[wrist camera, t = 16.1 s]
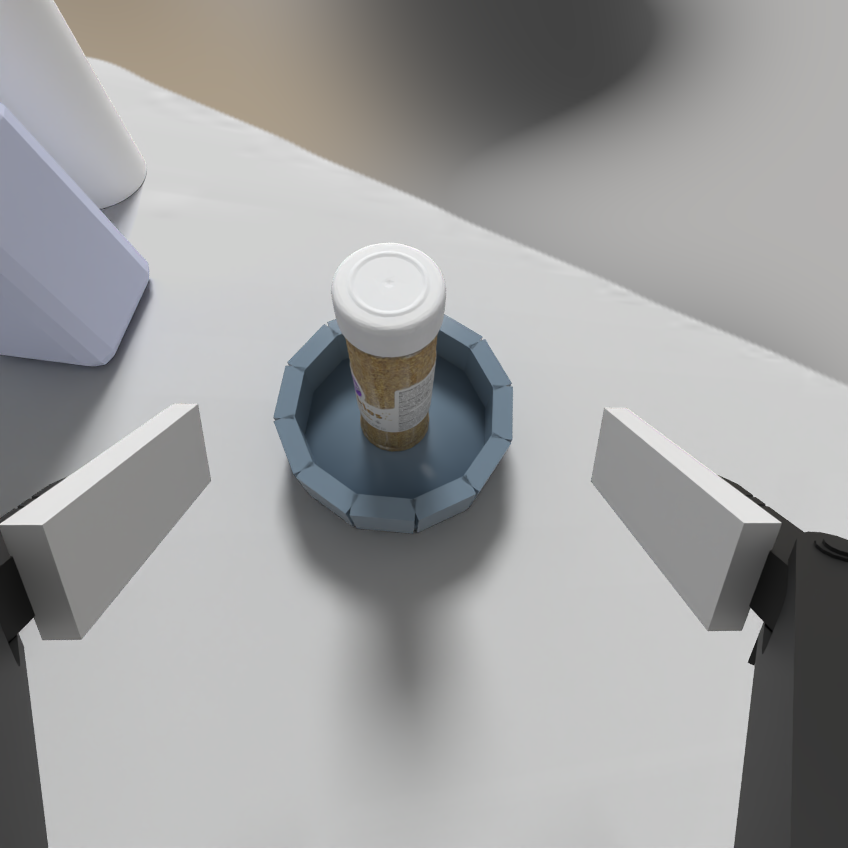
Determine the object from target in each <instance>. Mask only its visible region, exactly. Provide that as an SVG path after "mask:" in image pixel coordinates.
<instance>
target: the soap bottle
mask: <svg viewBox="0 0 848 848" xmlns="http://www.w3.org/2000/svg"><path fill="white" fill-rule="evenodd" d="M148 281H149V266H148V262H147V261H146V260H145V259H144V258H143V256H142V255H141V254H140V253H139V252H138V251H137V250H136V249H135V248H134V247H133V245H132V244H131V243H130V242H129V241H128V240H127V239H126V238H125V237H124V236H123V234H122V233H121V232H120V231H119V230H118V229H117V228H116V227H115V226H114V225H113V224H112V222H111V221H110V220H109V219H108V218H107V217H106V216H105V215H104V214H103V213H102V211H101V210H100V209H99V208H98V207H97V206H96V205H95V204H94V203H93V202H92V200H91V199H90V198H89V197H88V196H87V195H86V194H85V193H84V192H83V191H82V189H81V188H80V187H79V186H78V185H77V184H76V183H75V182H74V181H73V180H72V179H71V177H70V176H69V175H68V174H67V173H66V172H65V171H64V170H63V169H62V168H61V166H60V165H59V164H58V163H57V162H56V161H55V160H54V159H53V158H52V157H51V155H50V154H49V153H48V152H47V151H46V150H45V149H44V148H43V147H42V146H41V144H40V143H39V142H38V141H37V140H36V139H35V138H34V137H33V136H32V135H31V133H30V132H29V131H28V130H27V129H26V128H25V127H24V126H23V125H22V124H21V123H20V121H19V120H18V119H17V118H16V117H15V116H14V115H13V114H12V113H11V112H10V110H9V109H8V108H7V107H6V106H5V105H4V104H3V103H1V102H0V355H7V356H15V357H22V358H30V359H38V360H45V361H53V362H61V363H68V364H76V365H84V366H99V365H105V364H107V363H108V362H109V361H110V360H111V359H112V357H113V356H114V355H115V353H116V351H117V349H118V346H119V344H120V342H121V340H122V338H123V336H124V333H125V331H126V329H127V327H128V325H129V323H130V320H131V318H132V316H133V314H134V312H135V310H136V307H137V305H138V303H139V301H140V299H141V297H142V294H143V292H144V290H145V288H146V286H147V283H148Z"/></svg>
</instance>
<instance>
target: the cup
mask: <svg viewBox="0 0 848 848" xmlns="http://www.w3.org/2000/svg"><path fill="white" fill-rule="evenodd" d="M0 102H1V103H3V104H4V105H5V106H6V107H7V108H8V109H9V110H10V112H11V113H12V114H13V115H14V116H15V117H16V118H17V119H18V120H19V121H20V123H21V124H22V125H23V126H24V127H25V128H26V129H27V130H28V131H29V132H30V133H31V135H32V136H33V137H34V138H35V139H36V140H37V141H38V142H39V143H40V144H41V146H42V147H43V148H44V149H45V150H46V151H47V152H48V153H49V154H50V155H51V157H52V158H53V159H54V160H55V161H56V162H57V163H58V164H59V165H60V166H61V168H62V169H63V170H64V171H65V172H66V173H67V174H68V175H69V176H70V177H71V179H72V180H73V181H74V182H75V183H76V184H77V185H78V186H79V187H80V188H81V189H82V191H83V192H84V193H85V194H86V195H87V196H88V197H89V198H90V199H91V200H92V202H93V203H94V204H95V205H96V206H97V207H98V208H99V209H101V208H105V207H109V206H112V205H114V204H117V203H119V202H121V201H123V200H125V199H126V198H128V197H129V196H131V195H132V194H133V193H134V192H135V191H136V190H137V189H138V188H139V187H140V186H141V184H142V183H143V181H144V179H145V177H146V172H147V166H146V162H145V160H144V158H143V156H142V154H141V152H140V151H139V149H138V147H137V145H136V144H135V142H134V140H133V138H132V137H131V135H130V133H129V131H128V130H127V128H126V126H125V124H124V123H123V121H122V119H121V117H120V116H119V114H118V112H117V110H116V109H115V107H114V105H113V103H112V102H111V100H110V98H109V96H108V95H107V93H106V91H105V89H104V88H103V86H102V84H101V82H100V81H99V79H98V77H97V75H96V74H95V72H94V70H93V68H92V67H91V65H90V63H89V61H88V60H87V58H86V56H85V54H84V53H83V51H82V49H81V48H80V46H79V44H78V42H77V40H76V39H75V37H74V35H73V33H72V32H71V30H70V28H69V26H68V25H67V23H66V21H65V19H64V18H63V16H62V14H61V12H60V11H59V9H58V7H57V6H56V4H55V2H54V0H0Z"/></svg>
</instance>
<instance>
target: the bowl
mask: <svg viewBox="0 0 848 848" xmlns="http://www.w3.org/2000/svg"><path fill="white" fill-rule="evenodd" d="M327 323H328V326H326V325H325V324H324V325H323V326H322V327H321V328H320V329H319V330H318V331H317V332H316V333H315V334H314V335H313V336H312V337H311V338H310V339H309V340H308V342H307V343H306V344H305V345H304V346H303V347H302V348H301V349H300V350H299V351H298V352H297V353H296V354H295V355H294V356H293V357H292V358H291V359H290V360H289V361H288V365H289V366H285V371H284V375H283V379H282V383H281V388H280V392H279V396H278V400H277V404H276V409H275V413H274V417H273V418H274V419H275V421H274V423H275V426H276V429H277V432H278V434H279V437H280V440H281V442H282V445H283V448H284V450H285V453H286V456H287V458H288V461H289V464H290V466H291V469H292V472H293V474H294V475H295V477H296V478H297V479H298V481H299V482H300V483H301V484H302V486H303V487H304V488H305V490H306V491H307V492H308V493H309V495H310V496H312V497H313V498H315V499H316V500H317V501H319V502H320V503H321V504H323V505H324V506H325V507H327V508H328V509H329V510H331V511H332V512H334V513H335V514H336V515H338V516H339V517H340V518H342V519H343V520H344V521H346V522H347V523H348V524H350V525H351V526H352V527H354V526H356V528H357V529H368V530H379V531H389V532H400V533H411V534H413V531H414V530H416V532H417V533H418V532H420V531H422V530H425V529H427V528H429V527H431V526H433V525H435V524H437V523H440V522H442V521H444V520H446V519H448V518H450V517H452V516H454V515H457V514H459V513H461V512H463V511H465V510H467V509H468V507H470V506H471V505H472V503H473V502H474V500H475V499H476V497H477V496H478V494H479V493H480V491H481V490H482V488H483V487H484V485H485V484H486V482H487V481H488V479H489V478H490V476H491V475H492V473H493V472H494V470H495V468H496V467H497V465H498V464H499V462H500V461H501V459H502V457H503V456H504V454H505V453H506V451H507V449H508V448H509V446H510V444H511V441H512V412H513V387H511V384H512V383H511V381H510V380H509V378H508V376H507V375H506V373H505V371H504V370H503V368H502V366H501V365H500V363H499V361H498V360H497V358H496V356H495V355H494V353H493V352H492V350H491V348H490V347H489V345H488V343H487V342H486V340H485V339H484V340H482V336H480V335H479V334H477V333H475V332H474V331H472V330H470V329H469V328H467V327H465V326H464V325H462V324H460V323H459V322H457V321H455V320H453V319H452V318H450V317H448V316H447V315H445V314H444V317H443V322H442V325H441V328H440V330H439V332H438V335H437V345H436V363H435V372H434V381H433V388H432V397H431V404H430V408H429V425H428V430H427V432H426V434H425V436H424V438H423V439H422V440H421V441H420V442H419V443H418V444H416V445H415V446H414V447H412V448H410V449H407V450H403V451H392V452H391V451H386V450H382V449H380V448H378V447H376V446H375V445H373V444H372V443H371V442H370V441H369V440H368V439H367V438H366V437H365V435H364V433H363V430H362V428H361V423H360V416H361V414H360V410H359V408H358V404H357V399H356V393H355V387H354V382H353V378H352V373H351V368H350V359H349V353H348V348H347V344H346V339H345V336H344V335H343V334H342V332H341V330H340V328H339V326H338V323H337V320H336V319H335V320H332V321H329V322H327ZM481 340H482V341H481Z"/></svg>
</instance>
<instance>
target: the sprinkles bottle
mask: <svg viewBox="0 0 848 848" xmlns="http://www.w3.org/2000/svg"><path fill="white" fill-rule="evenodd" d="M331 294H332V300H333V306H334V312H335V316H336V320H337V323H338V326H339V328H340V330H341V332H342V334H343V335H344V336H345V339H346V344H347V348H348V353H349V359H350V368H351V373H352V378H353V382H354V387H355V393H356V399H357V404H358V408H359V410H360V414H361V416H360V423H361V428H362V430H363V433H364V435H365V437H366V438H367V439H368V440H369V441H370V442H371V443H372V444H373V445H375V446H376V447H378V448H380V449H382V450H386V451H391V452H392V451H403V450H407V449H410V448H412V447H414V446H415V445H416V444H418V443H419V442H420V441H421V440H422V439H423V438H424V436H425V434H426V432H427V430H428V425H429V408H430V404H431V397H432V388H433V381H434V372H435V363H436V345H437V335H438V332H439V330H440V328H441V325H442V322H443V317H444V310H445V300H446V285H445V280H444V277H443V274H442V272H441V270H440V268H439V267H438V266H437V264H436V263H435V262H434V261H433V260H432V259H431V258H430V257H429V256H427V255H426V254H425V253H423V252H421V251H420V250H417V249H415V248H413V247H410V246H407V245H403V244H397V243H379V244H374V245H370V246H366V247H364V248H361V249H359V250H357V251H356V252H354V253H352V254H351V255H349V256H348V257H347V258H346V259H345V260H344V261H343V262H342V263H341V264H340V266H339V267H338V268H337V270H336V273H335V275H334V278H333V281H332V287H331Z"/></svg>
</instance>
